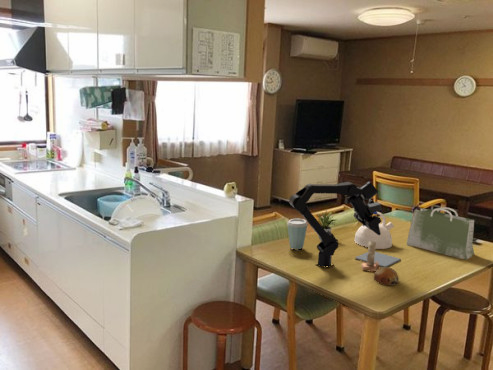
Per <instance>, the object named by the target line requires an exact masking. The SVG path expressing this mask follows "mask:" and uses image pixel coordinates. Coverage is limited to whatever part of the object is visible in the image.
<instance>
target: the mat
mask: <svg viewBox="0 0 493 370" xmlns="http://www.w3.org/2000/svg"><path fill="white" fill-rule="evenodd" d="M367 256H368V251H367V252H365V253H363V254H360V255H357V256H355V257H354V259H355V258H356V259H355V260H357V259H359V260H358V261H360V260H362V261H361V262H363V261H366V262H365V263H367ZM375 261H376V262H378V263H379V268H382V267H391V266H392V265H394V264H396V263H398V262H400V261H401V258H399V257H395V256H392V255H388V254H385V253H381V252H378V251H375V258H374V264H375Z"/></svg>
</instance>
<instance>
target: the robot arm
mask: <svg viewBox="0 0 493 370" xmlns="http://www.w3.org/2000/svg"><path fill="white" fill-rule="evenodd" d="M314 194H332V195H333V194H335V195H336V194H338V195H343V196H345V200H344V203H345V204H347V205H348V204H351V207H352V208H353V211H354V214H353V217H354V218H355V220H357V222H359V223H360V224H362V225H365V226H366V227H367V228H369V229H370V230H372V231H373V232H375V233H376V234H378V235H381V233H380V229H379V224H382V223H381V222H382V220H381V218H380V217H379V215H378V216H377V215H375V214H374V213H373V212H381V211H382V204H381V203H380V202H378V201H374V200H372V198H373V197H375V196H376V195H377V194H379V190H378V189H377V188H376V187H375V185H374V184H372V182H370V181H368V182H366V183H365V184H364V185H363V186H360V187H358V186H357V185H356V184H354V183H352V182H350V181H344V182H339V183H336V184H324V183H323V184H318V183H317V184H314V183H313V184H312V183H307V184H306V185H305V186H304V187H302V189H300V190H298V191H297V192H296V193H295V194H292V195H291V196H290V197H289V199H288V203H289V204H290V206H291V207H292V208H293V209H295V210H296V211H297V212H298V213H300V214H301V216H303V219H304V220H306V221H307V224H308V225H310V227H311V228H312V230H314V232H315V233H316V234H317V236H318V238H319V241H320V242H319V243H318V244H317V245H316V249H317V250H318V256H317V258H318V259H317V263H318V265H320V266H319V267H321V266H325V267H326V266H328V268H330V267H329V266H331V263H332V256H334V255H335V252H336V250H337V249H338V248H339V242H338V241H339V240H338V239H337V238H336V237H335V236H334V234H333V233H332V231H331V232H330V231H327V232H326V231H325V230H324V229H323V227H322V225H321V224H320V221H319V222H318V219H316V217H315V216H314V214H313V213H312V212H311V211H310V209H309V206H308V204H307V203H308V202H309V200H310V199H311V197H312V196H313V195H314ZM365 200H367V201H368V202H367V203H366V202H365ZM332 264H333V266H334V263H332ZM318 265H317V266H318ZM331 267H332V266H331Z"/></svg>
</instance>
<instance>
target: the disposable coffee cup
mask: <svg viewBox="0 0 493 370" xmlns="http://www.w3.org/2000/svg"><path fill="white" fill-rule="evenodd" d="M286 225H287V234H288V241H289V248H290V247H291V248H293V249H301V248H302V249H303V248H304V244H305V238H306V235H307V234H306V233H307V228H308V225H309V223H308V222H307V220H306V219H305V218H298V217H297V218H291V219H289V220H288V221H287V223H286ZM291 248H290V249H291ZM293 249H292V250H293Z"/></svg>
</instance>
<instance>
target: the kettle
mask: <svg viewBox="0 0 493 370" xmlns="http://www.w3.org/2000/svg"><path fill="white" fill-rule="evenodd" d="M373 213H374V214H373V215H378V216H380V217H381V218H382V221H381V222H382V223H380V224H379V229H380V233H381V235H378V234H376V233H375V232H373V231H372V230H370V229H369V228H367V227H366V226H365V225H363V224H362V225H361V226H360V227H359V228H358V229H357V230H356V232H355V236H354V241H355V242H354V241H353V242H354V243H355V244H356V243H357V245H358V244H359V245H358V246H360V245H361V247H363V246H365V247H364V248H367V247H368V245H369V242H370V241H373V242H376V248H375V250H385V249H390V248H391V247H392V246H393V237H392V234H391V232H390V230H391V229H392V228H393V227H395V226H394V224H393V222H391V221H389V222H388V223H387V224H386V222H387V219H386V217H385V214H383V213H382V212H381V211H377V212H373Z"/></svg>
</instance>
